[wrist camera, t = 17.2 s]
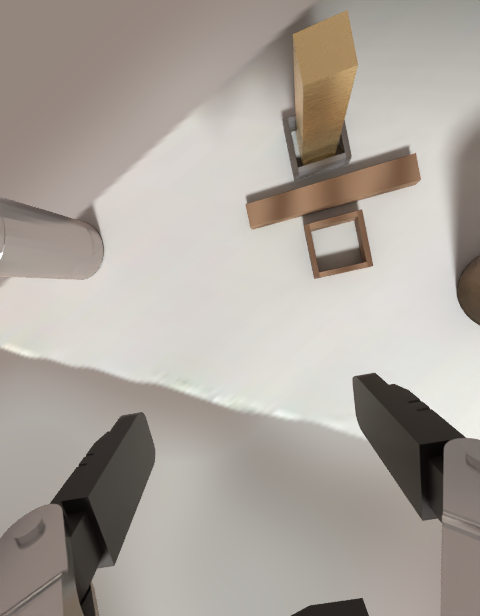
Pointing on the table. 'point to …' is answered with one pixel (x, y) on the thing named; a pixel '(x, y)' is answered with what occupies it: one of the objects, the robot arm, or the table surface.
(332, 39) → the tan wooden block
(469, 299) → the pillar candle
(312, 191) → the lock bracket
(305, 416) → the table surface
